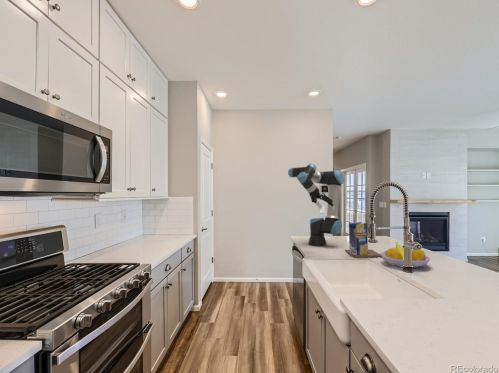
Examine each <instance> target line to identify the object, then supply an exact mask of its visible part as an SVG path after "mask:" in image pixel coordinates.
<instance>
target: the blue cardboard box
mask: <svg viewBox="0 0 499 373" xmlns="http://www.w3.org/2000/svg"><path fill="white" fill-rule="evenodd" d="M348 235H349V236H348V237H349V241H348V242H349V250H350V254H354V255H362V254H368V250H369V249H368V248H369V246H368V245H369V243H368V242H369V240H368V239H369V238H368V236H369V235H368V223H367V222H362V221H361V222H360V221H358V222H357V221H356V222H349V223H348Z"/></svg>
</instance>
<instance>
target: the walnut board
mask: <svg viewBox="0 0 499 373" xmlns="http://www.w3.org/2000/svg"><path fill="white" fill-rule="evenodd" d="M344 251H345V253H346V254H348V255H349V256H351V258H354V259H375V258H374V257H382V256H381V254H380V253H379V252H377V251H375V250H374V249H368V254H362V255H354V254H350V249H344Z"/></svg>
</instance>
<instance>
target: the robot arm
mask: <svg viewBox="0 0 499 373" xmlns="http://www.w3.org/2000/svg"><path fill="white" fill-rule="evenodd" d="M287 173H288V177H289V178H296V179H297V181H298V182H299V184H300V185H302V187H303V188H304V189H305V191H306V192H308V194H309V195H308V196H309V198H310V200H311V203H313V204H316V206H317V207H318V208H319V210H321V209H322V208H323V205H322V204H321V203H320V201H319V200H321V201H324V202H326V204H327V208H326V209H327V210H326V216H325V217H315V218H314V217H313V218H311V219H310V220H309V222H310V223H309V228H310V229H309V231H310V232H309V234H310V235H309V240H308V245H309V246H314V247H323V246H327V239H326V237H325V234H330V235H338V234H340V233H341V231H342V228H343V223H342V221H341V220H340V217H339V216H338V215H339V201H340V200H339V198H340V197H339V196H340V188H341V187H342V185H343V184H344V183H345V176H344V174H343V172H342V171H341V170H328V171H317V166H316V165H315V164H314V163H308V164H307V165H306V166H301V167H298V166H297V167H291V168H289V169H288V172H287ZM316 184H321V185H326V187H327V188H328V193H327V194H328V196H327V195H326V194H325V193H324V192H322V193H321V192H320V189H319V188H318V186H317V185H316Z"/></svg>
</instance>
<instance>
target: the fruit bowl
mask: <svg viewBox="0 0 499 373" xmlns="http://www.w3.org/2000/svg"><path fill="white" fill-rule="evenodd" d="M395 244H396V245H395V247H390V248H389V249H387V250H385V251H383V252H380V253H379V254H381V256H382V258H381V259H383V260H384V261H385V262H387V263H389V264H391V265H393V264H394V265H393V266H396V265H398V266H397V267H400V266H403V265H404V260H403V257H404V250H405V249H404V248H403V247H402V246H401V245H399V244H398V241H397V242H395ZM430 261H431V257H429V256H427V255H426V254H425V251H424V250H422V249H421V250H412V266H413V267H412V268H420V267H422V266H427V265H428V264H429V262H430ZM419 266H420V267H419Z"/></svg>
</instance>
